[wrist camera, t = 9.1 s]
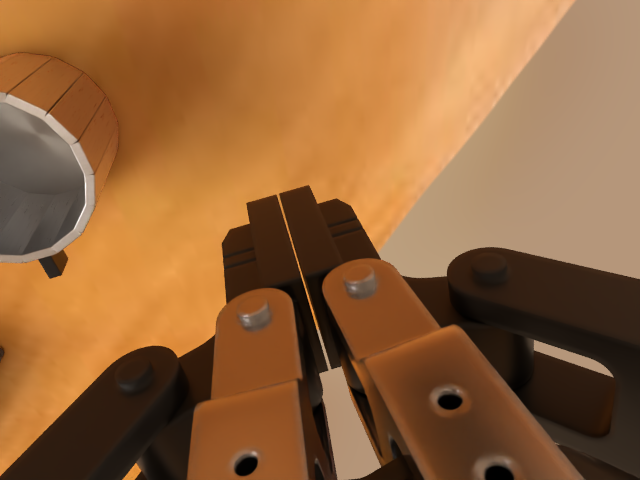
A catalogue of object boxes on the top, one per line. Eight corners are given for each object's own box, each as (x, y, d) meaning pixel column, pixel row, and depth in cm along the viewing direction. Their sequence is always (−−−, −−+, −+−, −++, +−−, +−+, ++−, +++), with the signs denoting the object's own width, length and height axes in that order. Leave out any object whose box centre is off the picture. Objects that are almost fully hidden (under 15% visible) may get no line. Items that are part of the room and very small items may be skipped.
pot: (25, 31, 23) (-187, 87, 22) (135, 257, 29) (-29, 305, 28) (69, 9, 31) (-88, 50, 30) (148, 191, 37) (19, 228, 36)
